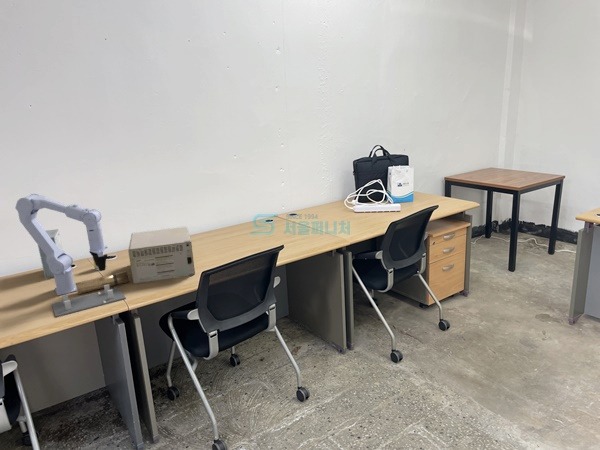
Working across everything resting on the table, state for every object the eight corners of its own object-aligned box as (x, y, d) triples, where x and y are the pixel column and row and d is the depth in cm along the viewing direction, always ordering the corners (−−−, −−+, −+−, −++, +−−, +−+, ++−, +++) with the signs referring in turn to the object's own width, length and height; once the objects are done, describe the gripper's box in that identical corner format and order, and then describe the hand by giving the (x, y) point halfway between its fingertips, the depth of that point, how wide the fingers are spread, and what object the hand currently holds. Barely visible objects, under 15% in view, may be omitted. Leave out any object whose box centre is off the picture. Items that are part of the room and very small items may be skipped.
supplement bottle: (108, 266, 225) (105, 248, 223) (104, 270, 220) (100, 251, 218) (97, 267, 225) (94, 248, 223) (93, 270, 220) (89, 252, 217)
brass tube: (77, 293, 195) (74, 281, 194) (127, 280, 206) (125, 270, 205) (78, 295, 190) (76, 284, 190) (129, 282, 201) (127, 272, 201)
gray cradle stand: (51, 305, 183) (50, 295, 182) (118, 288, 197) (116, 279, 196) (56, 317, 172) (53, 307, 171) (126, 298, 185) (124, 289, 184)
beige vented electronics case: (190, 256, 235) (187, 226, 231) (195, 274, 209) (191, 241, 204) (136, 263, 228) (131, 232, 223) (133, 284, 201) (128, 249, 197)
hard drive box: (49, 268, 227) (41, 230, 221) (66, 266, 229) (59, 228, 224) (44, 279, 212) (36, 239, 207) (62, 276, 215) (54, 236, 210)
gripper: (108, 240, 188) (113, 270, 192) (102, 233, 200) (107, 261, 203) (90, 243, 184) (96, 274, 188) (85, 236, 196) (90, 265, 200)
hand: (100, 268), depth 195 cm, fingers open, 7 cm apart
